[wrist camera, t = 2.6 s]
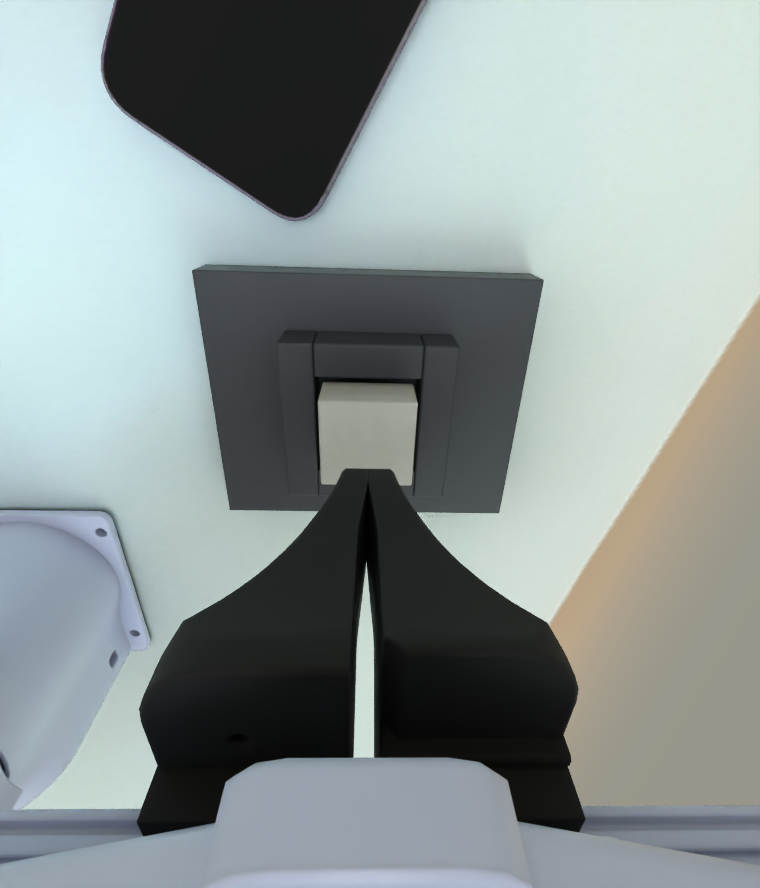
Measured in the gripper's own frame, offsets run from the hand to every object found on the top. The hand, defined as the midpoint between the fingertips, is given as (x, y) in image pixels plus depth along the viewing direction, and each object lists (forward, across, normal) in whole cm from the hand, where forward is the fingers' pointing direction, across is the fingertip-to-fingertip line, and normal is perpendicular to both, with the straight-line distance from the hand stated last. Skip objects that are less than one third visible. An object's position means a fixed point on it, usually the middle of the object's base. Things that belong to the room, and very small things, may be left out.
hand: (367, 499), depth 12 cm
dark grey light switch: (+8, 0, 0) cm, 8 cm away
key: (+5, 0, 0) cm, 5 cm away
